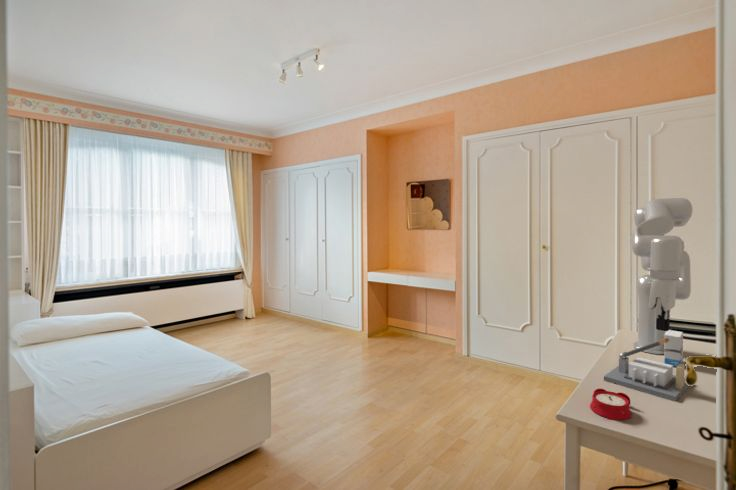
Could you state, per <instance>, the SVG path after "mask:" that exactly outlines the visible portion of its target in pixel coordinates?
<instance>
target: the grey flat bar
mask: <svg viewBox="0 0 736 490" xmlns="http://www.w3.org/2000/svg"><path fill="white" fill-rule="evenodd" d="M669 341H670V340H669V339H668V338H665V339H662V340H660V341H657V342H654V343H651V344H648V345H646V346H643V347H640V348H637V349H636V348H635V349H632V350H629V351H623V352H622V353H621V354H619V358H621V359H624V358H625V357H627V358H628V357H630V356H633V355H634V354H637V353H641V352H643V351H644V350H647V349H650V348H653V347H656V346H659V345H662V344H665V343H667V342H669Z"/></svg>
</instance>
